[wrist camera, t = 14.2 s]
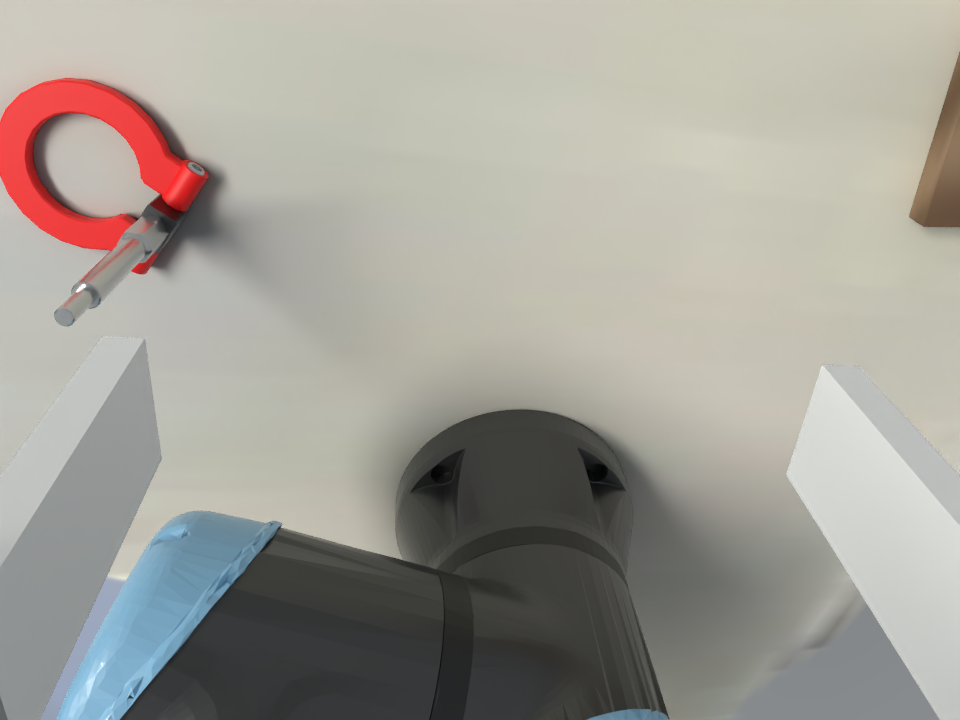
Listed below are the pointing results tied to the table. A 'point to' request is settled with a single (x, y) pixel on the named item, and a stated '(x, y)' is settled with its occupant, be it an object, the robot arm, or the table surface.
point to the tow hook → (128, 240)
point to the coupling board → (942, 167)
